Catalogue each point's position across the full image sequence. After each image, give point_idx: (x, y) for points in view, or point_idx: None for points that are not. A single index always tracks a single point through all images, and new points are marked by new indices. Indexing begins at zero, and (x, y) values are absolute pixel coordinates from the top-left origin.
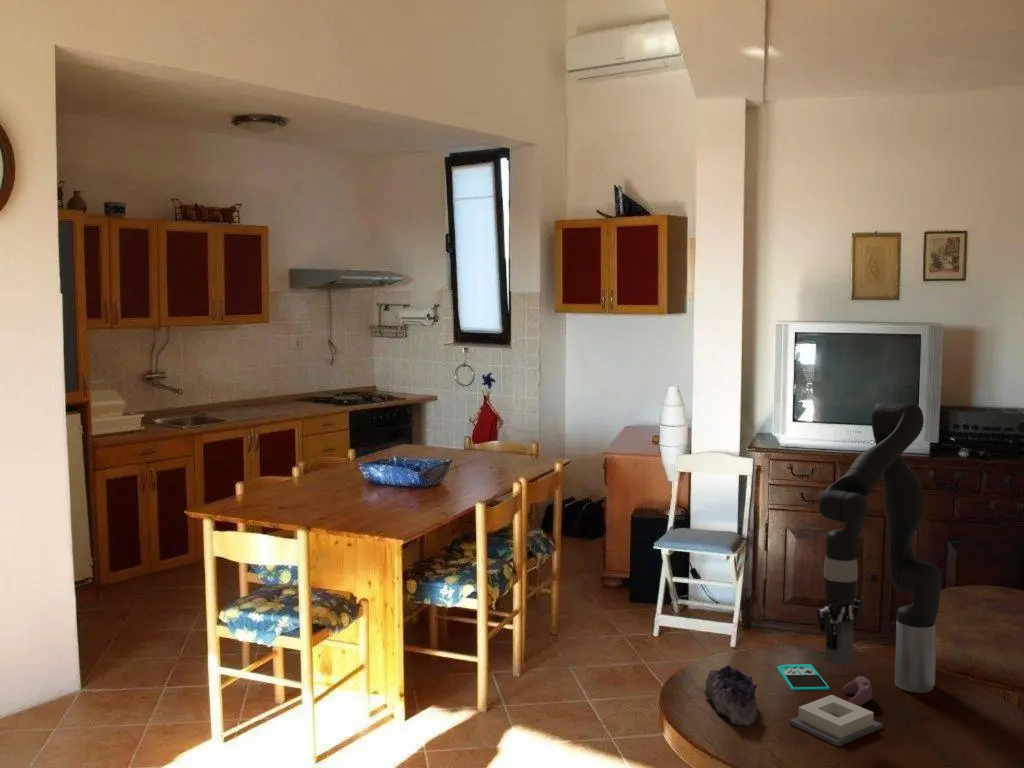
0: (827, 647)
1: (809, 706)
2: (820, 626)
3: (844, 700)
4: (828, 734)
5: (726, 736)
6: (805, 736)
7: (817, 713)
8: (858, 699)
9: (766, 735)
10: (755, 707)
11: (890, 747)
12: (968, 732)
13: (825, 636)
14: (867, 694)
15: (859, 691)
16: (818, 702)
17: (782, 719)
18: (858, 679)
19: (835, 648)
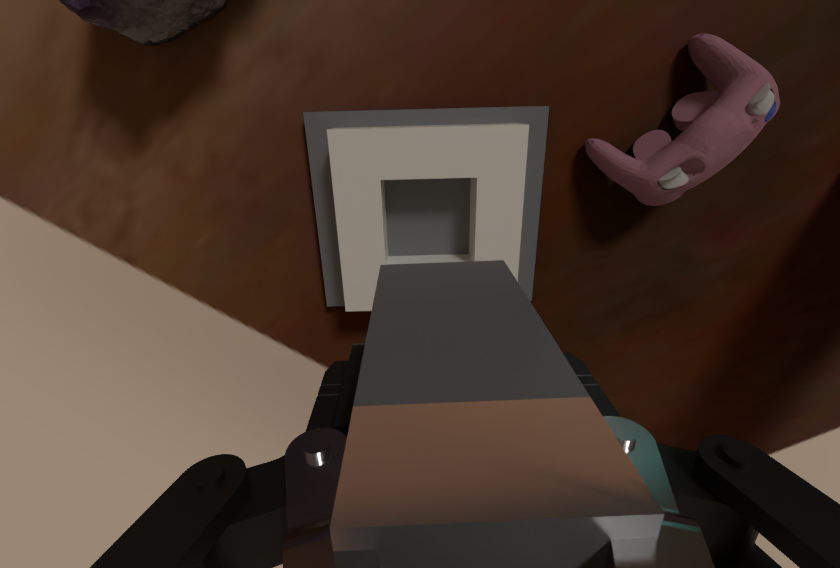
0: (353, 345)
1: (368, 151)
2: (134, 538)
3: (521, 191)
4: (339, 260)
5: (33, 49)
6: (292, 207)
7: (348, 210)
8: (611, 174)
9: (178, 129)
10: (172, 5)
11: None
12: (671, 416)
13: (365, 350)
14: (643, 197)
15: (649, 160)
16: (426, 146)
17: (311, 69)
18: (721, 117)
19: None
